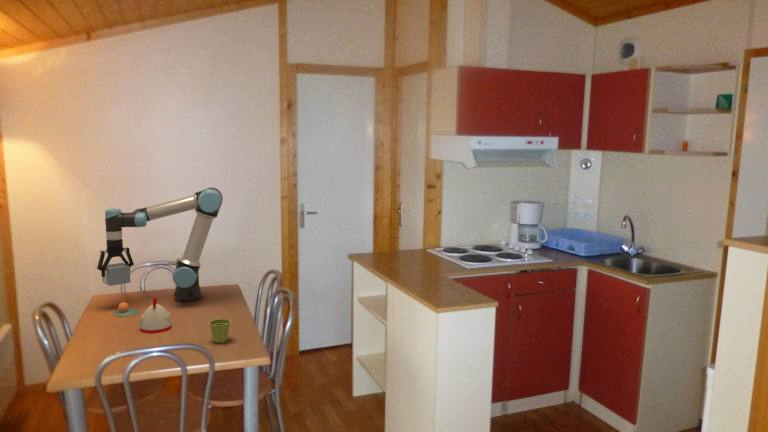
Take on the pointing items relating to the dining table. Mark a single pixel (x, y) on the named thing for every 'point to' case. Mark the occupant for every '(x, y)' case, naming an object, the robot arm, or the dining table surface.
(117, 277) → the grey-blue rounded block
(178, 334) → the dining table surface
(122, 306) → the ball
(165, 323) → the white and red dome
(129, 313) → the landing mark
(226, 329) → the plant pot
